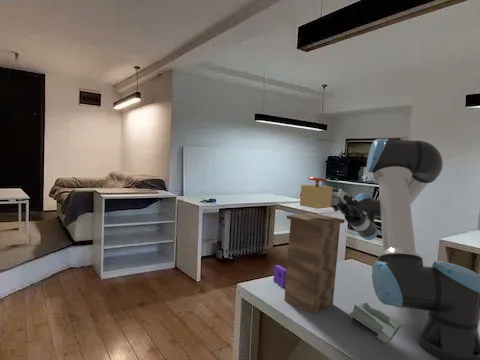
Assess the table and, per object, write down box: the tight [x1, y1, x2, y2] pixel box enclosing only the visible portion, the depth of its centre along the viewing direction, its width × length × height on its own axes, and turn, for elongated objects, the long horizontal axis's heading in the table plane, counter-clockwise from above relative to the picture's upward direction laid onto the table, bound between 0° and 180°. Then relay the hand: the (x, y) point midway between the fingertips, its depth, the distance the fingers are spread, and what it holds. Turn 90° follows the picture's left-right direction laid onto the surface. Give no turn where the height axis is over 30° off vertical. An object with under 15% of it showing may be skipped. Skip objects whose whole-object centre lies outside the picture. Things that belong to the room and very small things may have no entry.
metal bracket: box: [349, 302, 402, 345], centre depth 100 cm, size 14×6×15 cm
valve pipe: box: [299, 176, 352, 210], centre depth 116 cm, size 24×7×10 cm, turn 133°
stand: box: [283, 212, 346, 314], centre depth 113 cm, size 14×14×30 cm
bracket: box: [273, 264, 287, 289], centre depth 131 cm, size 12×7×7 cm, turn 115°
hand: (332, 191), depth 118 cm, fingers closed on valve pipe, 4 cm apart
